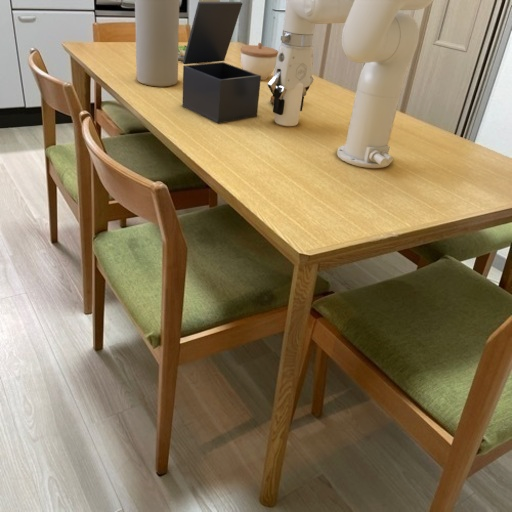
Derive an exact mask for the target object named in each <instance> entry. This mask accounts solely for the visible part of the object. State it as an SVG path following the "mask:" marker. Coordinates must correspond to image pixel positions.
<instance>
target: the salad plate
mask: <svg viewBox="0 0 512 512" xmlns="http://www.w3.org/2000/svg"><path fill="white" fill-rule="evenodd" d="M186 48H187V45H178V62H183V59H184V56H185V52H186Z"/></svg>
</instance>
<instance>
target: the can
mask: <svg viewBox="0 0 512 512" xmlns="http://www.w3.org/2000/svg"><path fill="white" fill-rule="evenodd" d="M280 85H281V83H280ZM281 86H282V85H281ZM281 90H282V89H281V88H280V90H279V92H280V93H281ZM302 94H303V84H302V83H298V84H297V85H296V86H295V88H294V89H291V90H286V93H285V95H284V97H283V99H284V100H285V102H284V110H283V115H279V114H276V113H274V119H273V120H274V123H275V124H276V125H278V126H282V127H286V128H287V127H291V128H292V127H296V126H297V125H298V124H299V120H300V114H301V111H300V108H301V101H302Z"/></svg>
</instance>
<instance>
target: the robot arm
mask: <svg viewBox="0 0 512 512" xmlns="http://www.w3.org/2000/svg"><path fill="white" fill-rule="evenodd" d="M433 2H434V0H286V1H285V10H284V18H283V25H282V34H281V36H280V41H281V43H280V44H279V48H278V50H277V51H278V55H277V59H276V64H275V69H274V71H273V76H272V78H271V79H270V80H269V81H268V83H267V87H268V89H269V90H270V93H271V94H272V96H273V97H274V103H273V106H272V113H274V114H275V113H276V114H279V115H283V110H284V102H285V100H284V99H283V97H284V95H285V93H286V90H291V89H294V88H295V86H296V85H297V84H298V83H302V84H303V94H302V101H301V108H300V112H303V108H304V107H303V106H304V102H305V101H304V100H305V97H306V96H307V92H308V90H309V89H310V87H311V85H312V84H313V83H314V81H315V80H314V77H313V72H314V59H315V57H314V55H315V54H314V46H312V45H313V40H314V32H315V26H316V25H327V24H344V25H343V28H342V32H341V40H340V41H341V48H342V51H343V53H344V55H345V56H346V58H347V59H348V60H350V61H352V62H354V63H359V64H364V65H363V67H362V68H361V72H360V73H359V76H358V77H359V78H358V80H357V81H358V82H357V86H356V91H355V95H354V100H353V105H352V111H351V116H350V119H349V120H350V121H349V125H348V129H347V135H346V139H345V140H346V141H345V144H343V145H341V146H339V147H338V148H337V151H336V155H337V157H338V158H339V159H340V160H341V161H343V162H345V163H347V164H350V165H353V166H354V167H359V168H365V169H383V168H386V167H388V166H389V165H391V163H392V162H393V161H394V157H393V156H392V155H391V154H389V153H390V148H391V147H390V146H389V143H390V139H391V134H392V130H393V126H394V123H395V118H396V113H397V110H398V106H399V103H400V98H401V95H402V91H403V87H404V83H405V79H406V76H407V72H408V69H409V68H410V65H411V62H412V59H413V57H414V55H415V53H416V51H417V48H418V44H419V39H420V30H419V29H420V28H419V25H418V23H417V21H416V19H415V18H414V17H413V16H412V15H411V14H409V13H407V12H404V11H419V10H423V9H426V8H428V7H429V6H430V5H431V4H432V3H433ZM280 83H281V85H282V86H281V85H280ZM280 88H281V89H282V90H281V93H280V92H279V90H280Z"/></svg>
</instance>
